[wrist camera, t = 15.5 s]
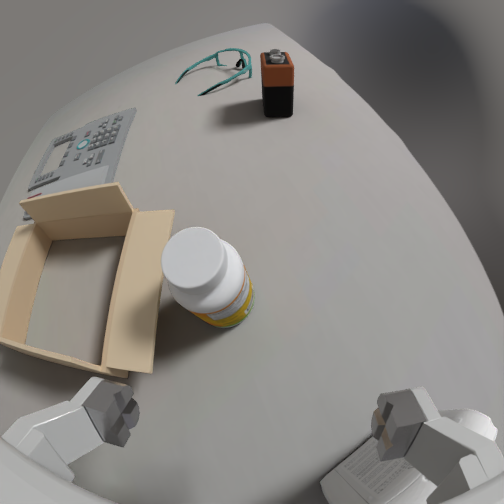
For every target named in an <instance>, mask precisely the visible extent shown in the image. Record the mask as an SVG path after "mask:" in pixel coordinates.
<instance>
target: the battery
mask: <svg viewBox="0 0 504 504" xmlns="http://www.w3.org/2000/svg"><path fill="white" fill-rule="evenodd" d="M260 57H261V76H262V97H263V105H264V113H265V116H266V117H280V116H292V115H293V91H294V65H293V63H292V61H291V59H290V57H289V54H288V53H287V52H280V50H279V49H271V50H270V52H267V53H261V55H260Z"/></svg>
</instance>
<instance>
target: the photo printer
mask: <svg viewBox="0 0 504 504" xmlns="http://www.w3.org/2000/svg"><path fill="white" fill-rule="evenodd" d="M438 412H439V414H440V416H441V417H447V418H449V419H451V420H453V421H455V422H457V423H458V424H460V425H462V426H464V427H466V428H468V429H470V430H472V431H474V432H476V433H478V434H480V435H482V436H484V437H486V438H488V439H490V440H492V441H494V442H495V439H496V436H497V428H496V427H494V425H493V424H492V422H491V419H490V418H489V417H488V416H486V415H484V414H482V413H480V412H478V411H475V410H471V409H453V410H438ZM378 442H379V441H378V440H377V439H375V438H374V437H373V436H372V437H371V438H370V439H369V440H368V441H367V442H366V443H364V444H363V445H362V446H361V447H360V448H359V449H357V450H356V451H355V452H354V453H353V454H351V455H350V456H349V457H348V458H346V459H345V460H344V461H343V462H341V463H340V464H339V465H338V466H337V467H335V468H334V469H333V470H332V471H331V472H329V473H328V474H327V475H326V476H325V477H324V478H323V479H322V480H321V481H320V484H321V486H322V492H323V494H324V496H325V498H326V499H327V501H328V503H329V504H427V501H426V499H427V498H428V496H429V495H430V494H431V493H432V492H433V491H434V490H435V489H436V488H437V486H436V485H435V484H434V483H432V482H431V481H430V480H429V479H427V478H426V477H425V476H424V475H423V474H422V473H420V472H419V471H418V470H417V469H416V468H414V467H413V466H412V465H411V464H410V463H409V462H407V461H406V460H405V459H404V457H403V458H398V459H393V460H387V461H382V462H380V459H379V455H378V452H377V448H376V446H377V444H378Z"/></svg>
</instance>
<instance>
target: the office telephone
mask: <svg viewBox="0 0 504 504" xmlns="http://www.w3.org/2000/svg"><path fill="white" fill-rule="evenodd" d="M135 114H136V108H131V109H128V110H124V111H121V112H118V113H115V114H112V115H109V116H106V117H103V118H100V119H98V120H95V121H92V122H90V123H88V124H86V125H85V126H84V127H82V128H79V129H77V130H74V131H72V132H70V133H67V134H65V135H62V136H60V137H57V138H54V139H53V140H52V141H51V143H50V145H49V146H48V148H47V150H46V152H45V154H44V155H43V157H42V159H41V161H40V163H39V165H38V167H37V169H36V171H35V173H34V175H33V177H32V180H31V182H30V185H29V187H28V189H29V190H30V191H32V190H33V189H35V188H38V187H40V186H43V185H45V184H48V183H50V184H48V185H45V186H43V187H40V188H38V189H35V190H34V191H32V193H31V194H30V196H29V198H28V199H30V198H34V197H39V196H43V195H48V194H53V193H57V192H62V191H67V190H73V189H78V188H84V187H89V186H95V185H101V184H108V183H113V180H114V176H115V173H116V169H117V166H118V162H119V159H120V156H121V152H122V149H123V146H124V143H125V140H126V137H127V134H128V131H129V128H130V125H131V123H132V121H133V119H134V116H135ZM70 140H71V142H70V144H69V146H68V148H67V150H66V152H65V154H64V156H63V159H62V161H61V163H60V165H59V167H58V169H57V170H54V171H52V172H49V173H47V174H44V175H42V176H40V174H41V172H42V170H43V168H44V166H45V164H46V162H47V160H48V158H49V156H50V154H51V152H52V151H53V149H54V148H55V147H56V146H58V145H60V144H63V143H65V142H67V141H70ZM56 180H57V181H56ZM53 181H55V182H53ZM51 182H53V183H51ZM23 217H24V218H25V219H26V220H28V219H32V218H31V216H30V215H29V214H28V213H27V212H26V211H25V212H24V216H23Z"/></svg>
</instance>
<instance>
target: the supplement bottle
mask: <svg viewBox="0 0 504 504" xmlns="http://www.w3.org/2000/svg"><path fill="white" fill-rule="evenodd" d="M161 268H162V272H163V274H164V276H165V278H166V279H167V280H168V285H169V289H170V292H171V294H172V295H173V297H174V298H175V300H176V301H177V302H178V303H179V304H180V305H181V306H183V307H184V308H185V309H187V310H188V311H190V312H191V313H193V314H194V315H196V316H197V317H199V318H200V319H202V320H203V321H205V322H207V323H208V324H210V325H213V326H215V327H220V328H227V327H232V326H235V325H238V324H239V323H241V322H242V321H244V320H245V319H246V318H247V317H248V315H249V314H250V312H251V311H252V309H253V306H254V301H255V293H254V289H253V286H252V283H251V281H250V278H249V276H248V274H247V271H246V269H245V266H244V264H243V262H242V260H241V258H240V256H239V254H238V253H237V251H236V250H235V249H234V248H233V247H232V246H231V245H230V244H229V243H227V242H225V241H224V240H221V239H219V237H218V236H217V235H216V234H215V233H214V232H212V231H211V230H209V229H206V228H203V227H190V228H186V229H184V230H181V231H179V232H178V233H176V234H175V235H174V236H172V237H171V238H170V240H169V241H168V242H167V244H166V245H165V247H164V249H163V252H162V256H161Z"/></svg>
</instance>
